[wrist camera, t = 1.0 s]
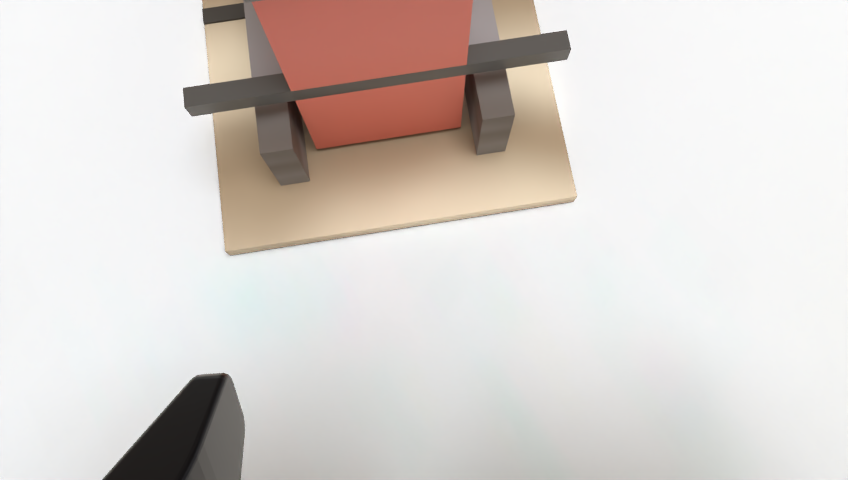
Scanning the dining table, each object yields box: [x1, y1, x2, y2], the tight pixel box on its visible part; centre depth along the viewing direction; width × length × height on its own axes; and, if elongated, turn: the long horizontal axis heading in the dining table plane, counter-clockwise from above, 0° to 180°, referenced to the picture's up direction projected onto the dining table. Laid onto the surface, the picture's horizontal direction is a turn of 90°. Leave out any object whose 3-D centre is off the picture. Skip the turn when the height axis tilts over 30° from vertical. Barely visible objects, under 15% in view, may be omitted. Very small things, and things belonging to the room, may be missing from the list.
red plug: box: [183, 0, 571, 149], centre depth 20 cm, size 4×11×10 cm, turn 99°
